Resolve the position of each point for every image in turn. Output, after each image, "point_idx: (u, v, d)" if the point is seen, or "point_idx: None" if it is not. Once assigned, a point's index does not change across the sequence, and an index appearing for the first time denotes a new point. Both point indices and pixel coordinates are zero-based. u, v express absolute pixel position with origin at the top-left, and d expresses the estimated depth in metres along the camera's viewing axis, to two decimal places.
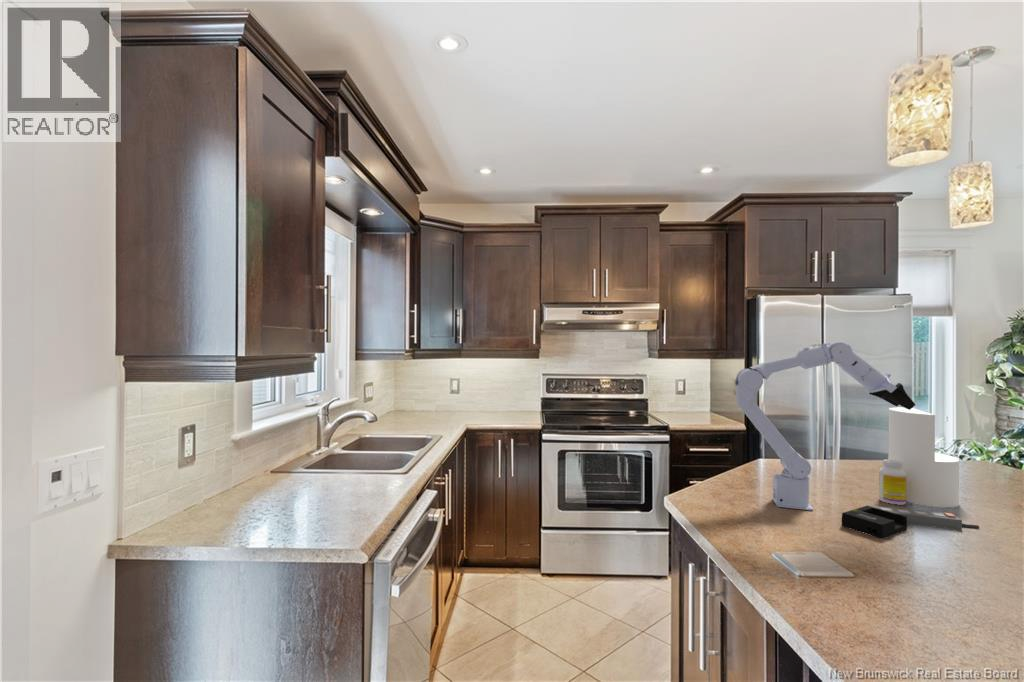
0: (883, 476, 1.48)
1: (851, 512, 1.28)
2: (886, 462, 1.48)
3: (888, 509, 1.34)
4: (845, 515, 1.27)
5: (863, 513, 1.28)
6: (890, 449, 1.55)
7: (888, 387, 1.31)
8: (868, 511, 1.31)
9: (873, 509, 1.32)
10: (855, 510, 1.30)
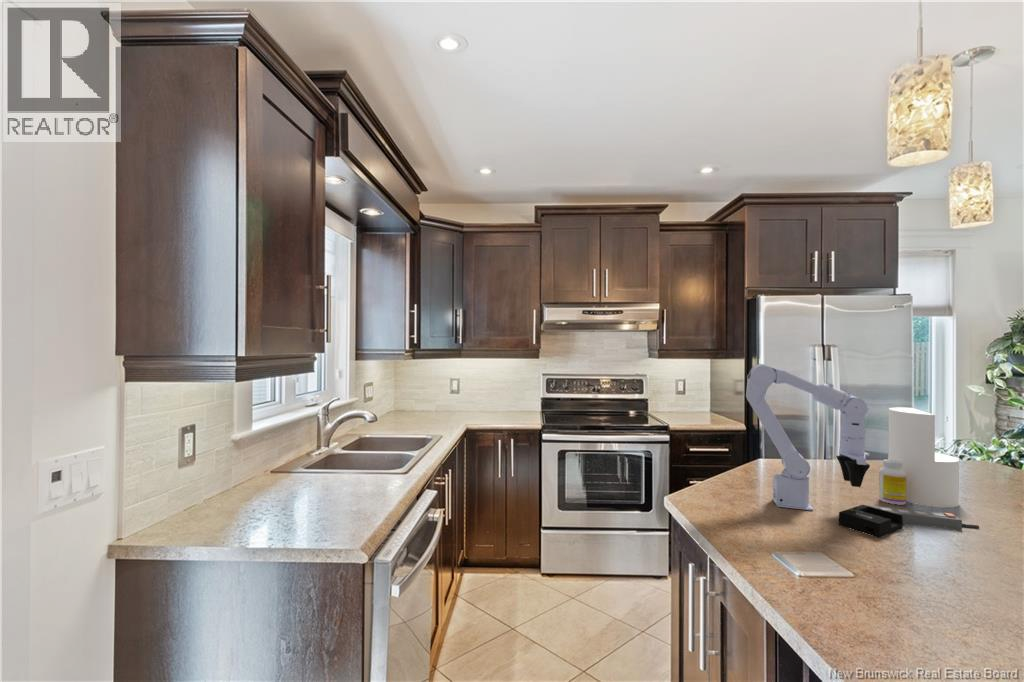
0: (883, 476, 1.48)
1: (848, 511, 1.29)
2: (886, 462, 1.48)
3: (888, 509, 1.34)
4: (842, 514, 1.28)
5: (860, 512, 1.28)
6: (890, 449, 1.55)
7: (860, 459, 1.32)
8: (864, 510, 1.32)
9: (869, 508, 1.33)
10: (851, 509, 1.31)
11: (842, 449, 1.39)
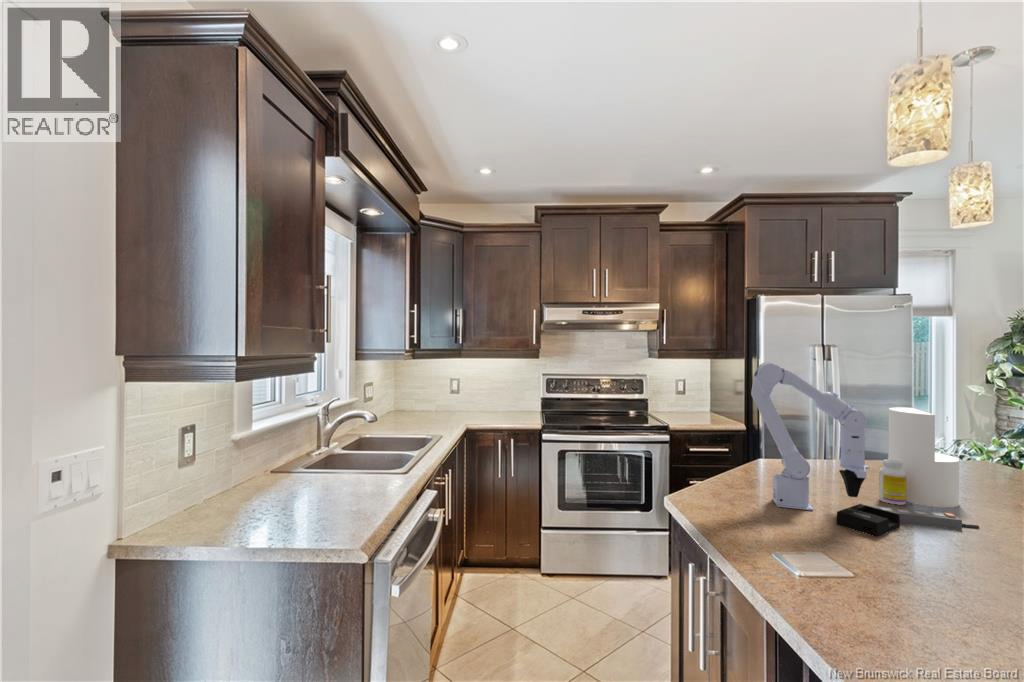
0: (883, 476, 1.48)
1: (846, 511, 1.29)
2: (886, 462, 1.48)
3: (888, 509, 1.34)
4: (840, 514, 1.28)
5: (857, 511, 1.29)
6: (890, 449, 1.55)
7: (860, 472, 1.32)
8: (861, 509, 1.33)
9: (866, 507, 1.33)
10: (849, 508, 1.31)
11: (842, 462, 1.39)
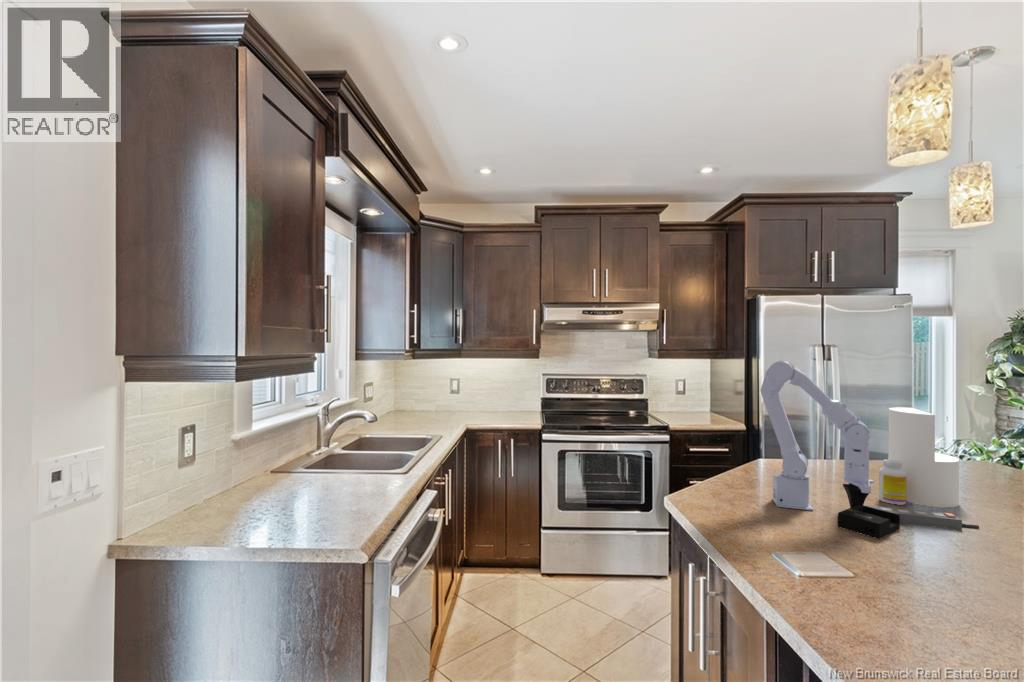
0: (883, 476, 1.48)
1: (846, 512, 1.28)
2: (886, 462, 1.48)
3: (888, 509, 1.34)
4: (841, 515, 1.27)
5: (858, 512, 1.28)
6: (890, 449, 1.55)
7: (864, 487, 1.29)
8: (861, 510, 1.31)
9: (866, 508, 1.32)
10: (850, 509, 1.30)
11: (846, 476, 1.36)
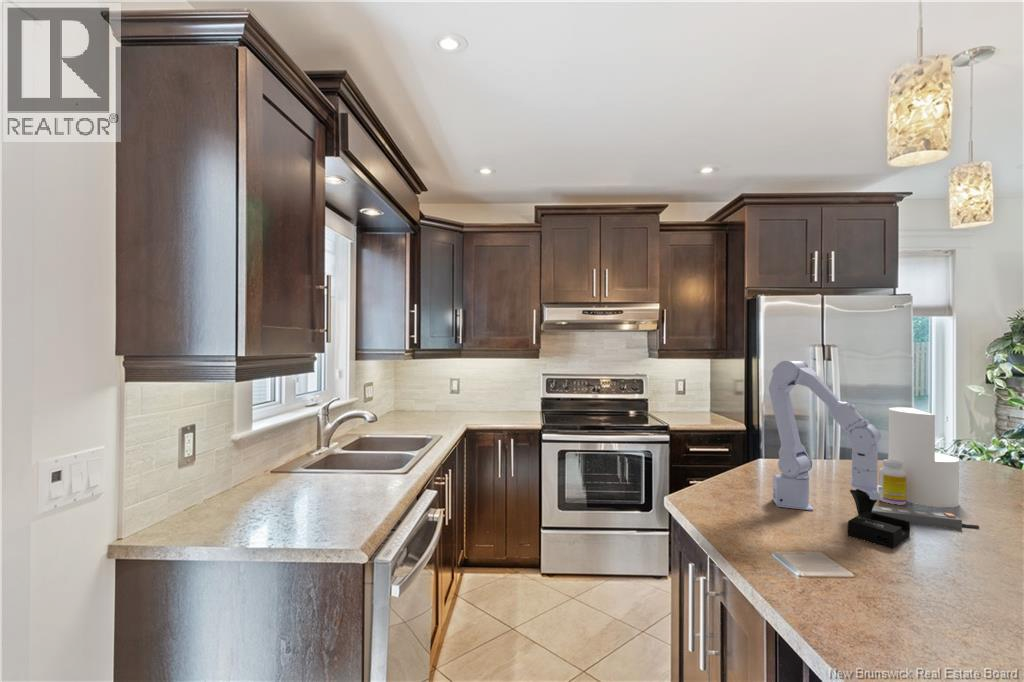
0: (883, 476, 1.48)
1: (856, 520, 1.22)
2: (886, 462, 1.48)
3: (888, 509, 1.34)
4: (851, 523, 1.21)
5: (868, 520, 1.22)
6: (890, 449, 1.55)
7: (873, 494, 1.23)
8: (869, 517, 1.26)
9: (873, 514, 1.27)
10: (858, 517, 1.24)
11: (853, 481, 1.30)
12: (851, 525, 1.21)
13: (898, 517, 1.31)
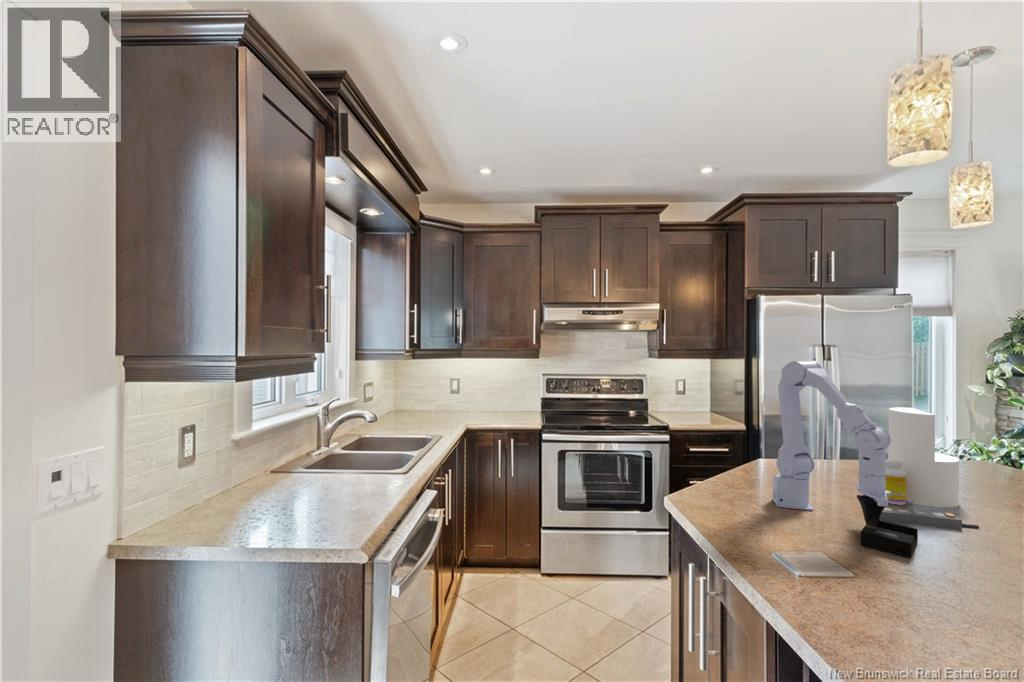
0: None
1: (868, 529, 1.16)
2: (886, 462, 1.48)
3: (888, 509, 1.34)
4: (865, 534, 1.15)
5: (879, 529, 1.17)
6: (890, 449, 1.55)
7: (881, 500, 1.19)
8: (876, 525, 1.21)
9: (879, 522, 1.22)
10: (868, 526, 1.19)
11: (860, 487, 1.26)
12: (864, 536, 1.15)
13: (898, 517, 1.31)
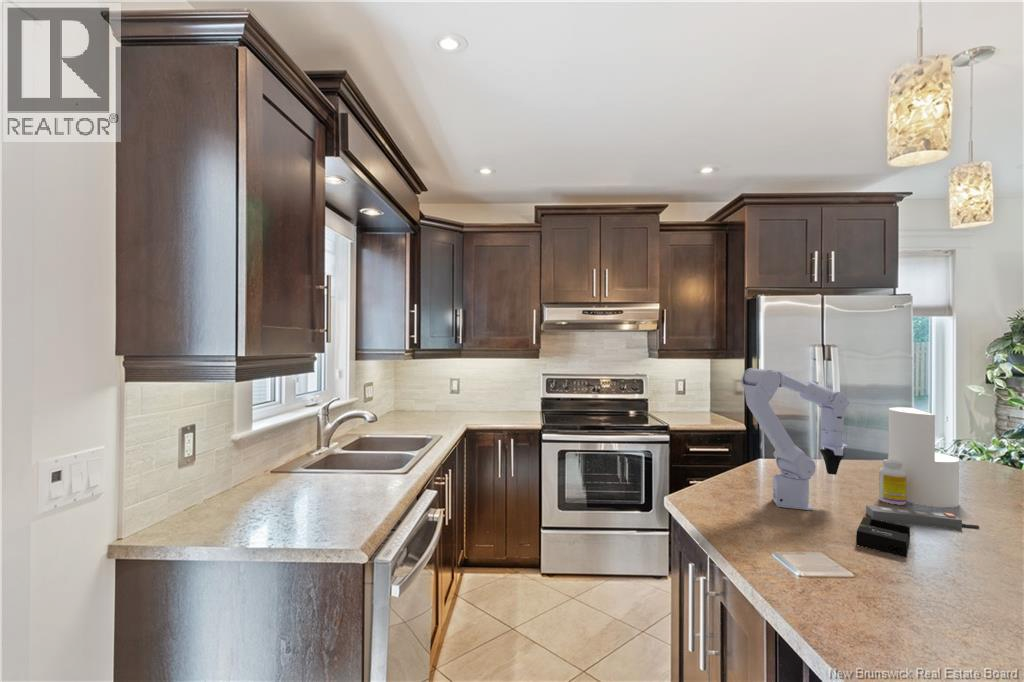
0: (883, 476, 1.48)
1: (863, 529, 1.17)
2: (886, 462, 1.48)
3: (888, 509, 1.34)
4: (861, 533, 1.15)
5: (873, 528, 1.17)
6: (890, 449, 1.55)
7: (837, 450, 1.39)
8: (870, 524, 1.22)
9: (872, 521, 1.23)
10: (862, 525, 1.19)
11: (822, 441, 1.46)
12: (860, 535, 1.15)
13: (898, 517, 1.31)
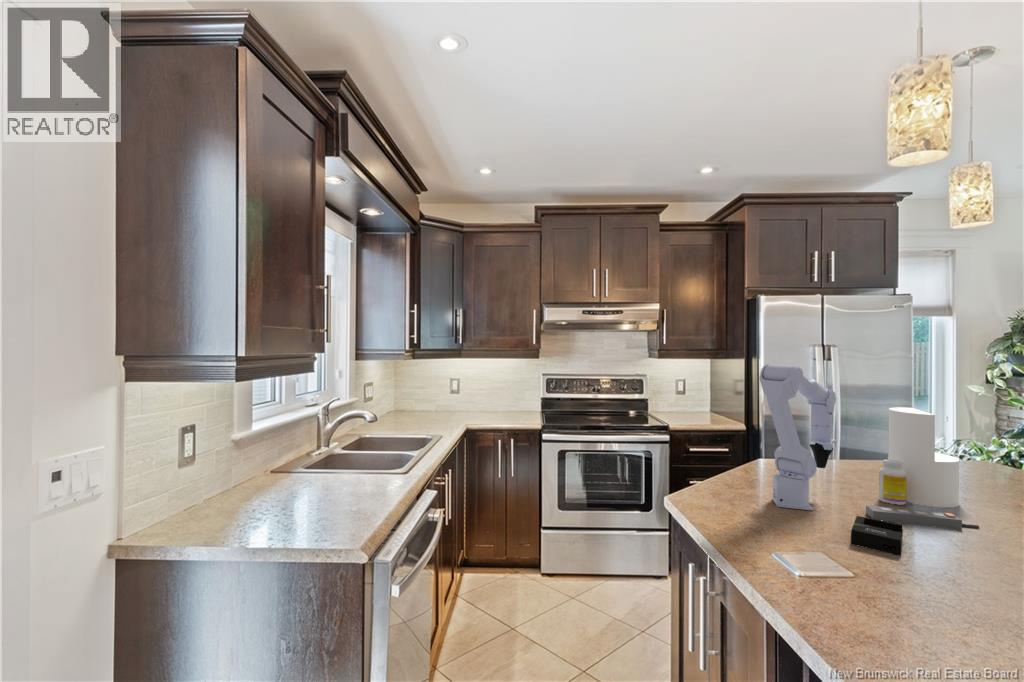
0: (883, 476, 1.48)
1: (858, 528, 1.18)
2: (886, 462, 1.48)
3: (888, 509, 1.34)
4: (855, 532, 1.16)
5: (867, 527, 1.18)
6: (890, 449, 1.55)
7: (827, 444, 1.46)
8: (863, 522, 1.23)
9: (865, 519, 1.24)
10: (857, 524, 1.20)
11: (812, 436, 1.53)
12: (855, 534, 1.16)
13: (898, 517, 1.31)
